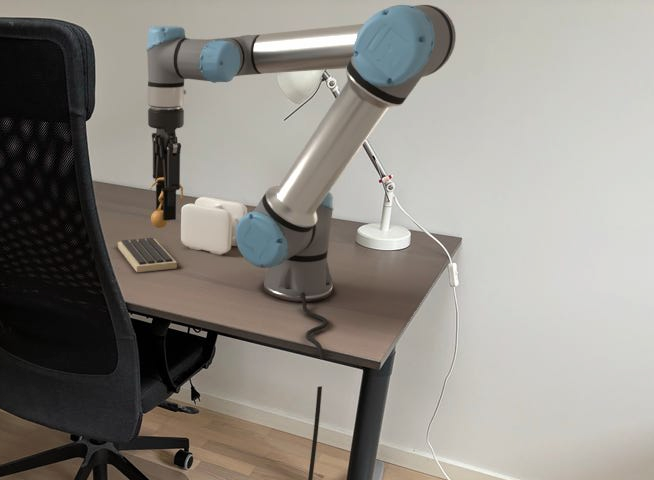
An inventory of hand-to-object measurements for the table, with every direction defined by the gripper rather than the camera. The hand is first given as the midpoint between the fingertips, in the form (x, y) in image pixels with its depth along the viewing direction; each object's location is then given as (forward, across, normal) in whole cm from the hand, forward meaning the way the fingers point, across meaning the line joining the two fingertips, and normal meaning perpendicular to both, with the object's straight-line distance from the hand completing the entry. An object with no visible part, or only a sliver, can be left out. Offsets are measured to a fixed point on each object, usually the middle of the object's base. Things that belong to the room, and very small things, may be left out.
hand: (165, 216), depth 165 cm
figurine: (+3, +2, +1) cm, 3 cm away
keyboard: (+15, +16, 0) cm, 22 cm away
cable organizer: (+16, +20, -19) cm, 32 cm away
